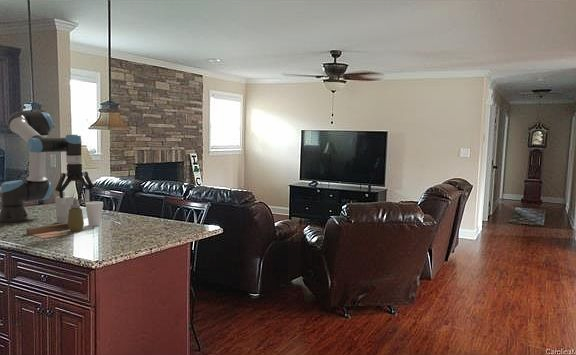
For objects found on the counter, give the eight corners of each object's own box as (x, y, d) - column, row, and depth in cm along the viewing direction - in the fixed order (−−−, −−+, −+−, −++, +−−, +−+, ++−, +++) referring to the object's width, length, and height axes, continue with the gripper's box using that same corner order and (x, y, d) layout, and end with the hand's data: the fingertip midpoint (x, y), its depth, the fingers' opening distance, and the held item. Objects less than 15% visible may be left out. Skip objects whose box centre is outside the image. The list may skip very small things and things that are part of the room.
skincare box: (75, 222, 278) (74, 196, 276) (65, 224, 272) (64, 197, 270) (65, 221, 282) (64, 195, 280) (55, 222, 276) (54, 196, 274)
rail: (26, 234, 246) (26, 228, 246) (78, 226, 268) (78, 220, 268) (41, 239, 236) (41, 233, 236) (94, 230, 258) (93, 225, 258)
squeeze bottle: (86, 231, 256) (85, 198, 254) (71, 233, 250) (70, 199, 249) (80, 228, 262) (80, 196, 260) (65, 230, 256) (64, 197, 254)
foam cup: (87, 227, 266) (87, 204, 264) (84, 224, 273) (83, 202, 272) (105, 225, 271) (104, 203, 270) (101, 222, 279) (101, 201, 277)
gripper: (54, 164, 240) (55, 206, 242) (99, 162, 260) (100, 200, 262) (47, 164, 245) (48, 204, 247) (92, 162, 264) (93, 199, 266)
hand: (75, 202), depth 254 cm, fingers open, 13 cm apart
